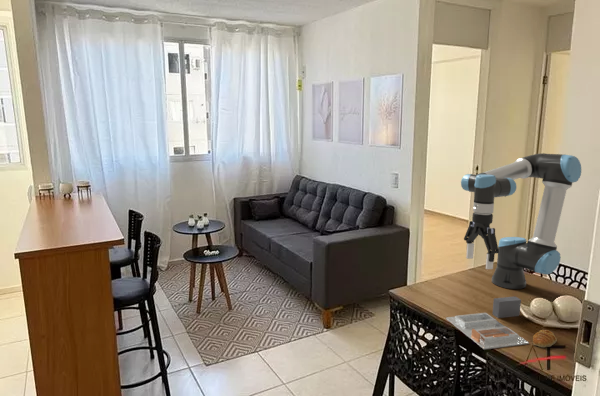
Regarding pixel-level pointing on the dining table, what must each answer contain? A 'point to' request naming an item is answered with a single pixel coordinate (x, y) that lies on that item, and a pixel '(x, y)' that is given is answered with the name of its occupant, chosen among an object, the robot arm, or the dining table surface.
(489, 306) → the dining table surface
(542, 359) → the dining table surface
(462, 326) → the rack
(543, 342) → the pastry
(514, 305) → the grey rectangular block
